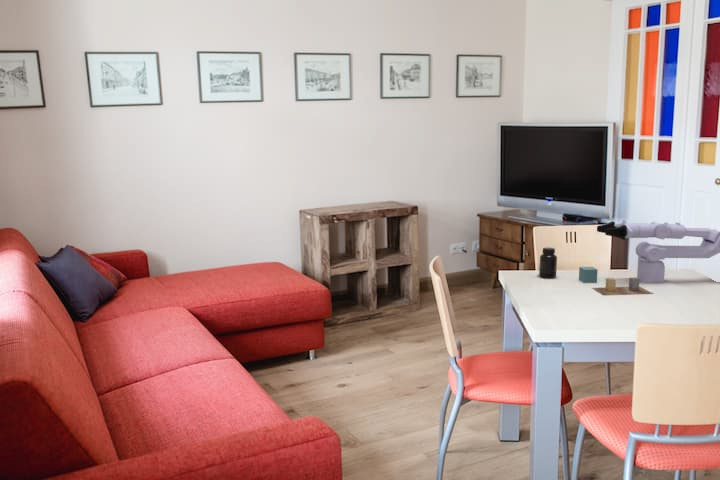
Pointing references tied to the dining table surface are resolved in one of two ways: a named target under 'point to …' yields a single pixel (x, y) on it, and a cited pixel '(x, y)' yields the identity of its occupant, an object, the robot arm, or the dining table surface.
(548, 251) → the supplement bottle
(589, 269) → the teal foam cube
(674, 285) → the dining table surface
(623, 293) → the base board
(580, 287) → the dining table surface
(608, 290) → the tan wooden block
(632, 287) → the steel post
